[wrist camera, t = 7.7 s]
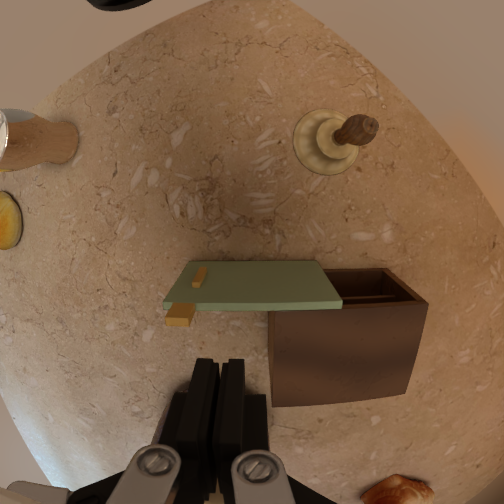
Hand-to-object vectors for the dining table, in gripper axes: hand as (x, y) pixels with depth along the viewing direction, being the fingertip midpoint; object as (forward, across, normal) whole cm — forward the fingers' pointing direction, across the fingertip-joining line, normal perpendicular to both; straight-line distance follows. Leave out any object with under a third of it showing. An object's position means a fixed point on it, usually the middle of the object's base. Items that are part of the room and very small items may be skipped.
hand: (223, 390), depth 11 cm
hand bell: (+29, -10, -11) cm, 33 cm away
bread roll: (+29, +38, -3) cm, 48 cm away
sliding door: (+29, -1, +4) cm, 29 cm away
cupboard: (+29, -11, +11) cm, 33 cm away
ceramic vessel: (+29, -36, +65) cm, 80 cm away
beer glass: (+29, +25, -13) cm, 41 cm away
